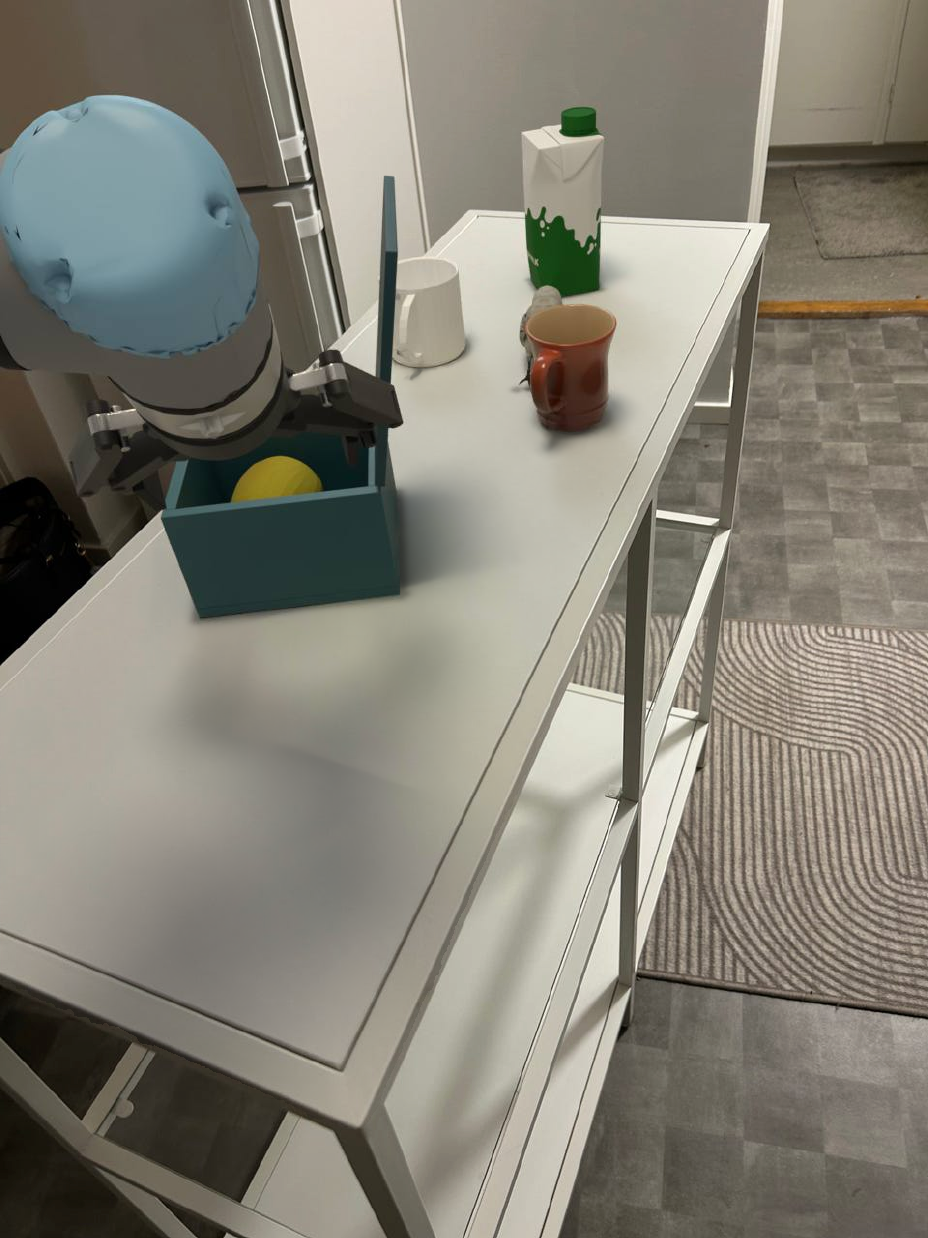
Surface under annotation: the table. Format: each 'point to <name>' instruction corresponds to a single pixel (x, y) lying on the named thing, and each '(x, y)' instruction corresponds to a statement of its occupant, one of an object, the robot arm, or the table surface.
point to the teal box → (284, 531)
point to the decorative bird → (541, 301)
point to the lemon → (276, 480)
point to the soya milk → (564, 202)
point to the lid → (386, 313)
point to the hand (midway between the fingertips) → (254, 469)
